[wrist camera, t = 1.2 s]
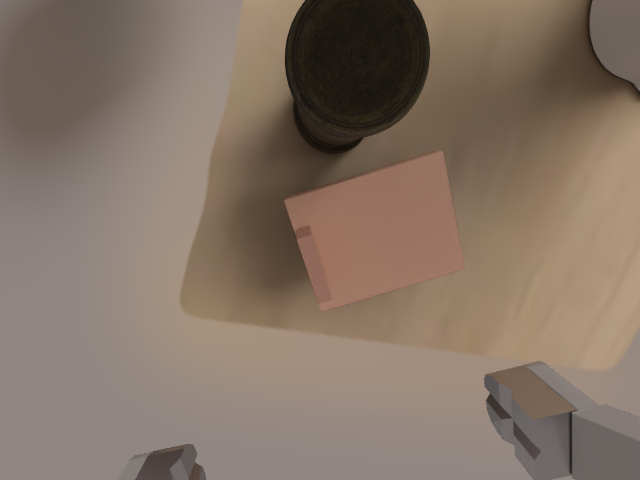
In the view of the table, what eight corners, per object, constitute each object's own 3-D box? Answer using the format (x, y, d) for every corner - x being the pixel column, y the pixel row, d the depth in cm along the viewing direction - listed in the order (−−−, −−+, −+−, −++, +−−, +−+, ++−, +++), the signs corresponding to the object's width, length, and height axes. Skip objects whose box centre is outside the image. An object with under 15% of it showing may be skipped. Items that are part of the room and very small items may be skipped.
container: (352, 164, 36) (396, 165, 18) (281, 133, 34) (257, 103, 17) (384, 89, 34) (468, 10, 16) (311, 54, 32) (317, -73, 15)
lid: (431, 151, 29) (466, 148, 23) (453, 260, 32) (489, 284, 26) (285, 197, 29) (280, 206, 23) (320, 300, 32) (323, 333, 26)
